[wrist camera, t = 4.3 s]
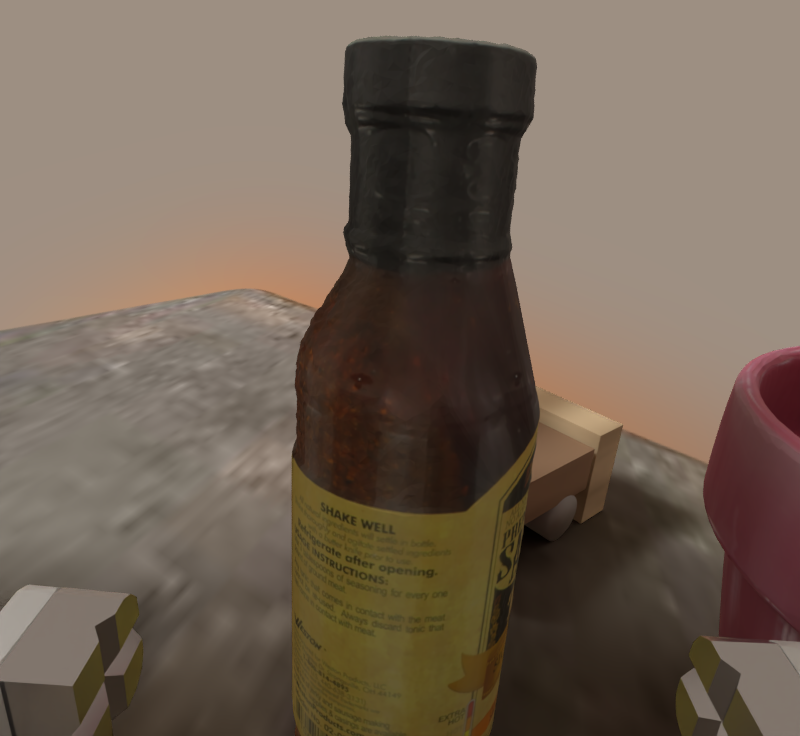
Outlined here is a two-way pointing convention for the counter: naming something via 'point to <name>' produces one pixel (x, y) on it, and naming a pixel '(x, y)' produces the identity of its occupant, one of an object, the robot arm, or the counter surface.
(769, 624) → the plant pot
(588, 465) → the roller board
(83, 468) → the counter surface
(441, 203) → the sauce bottle
